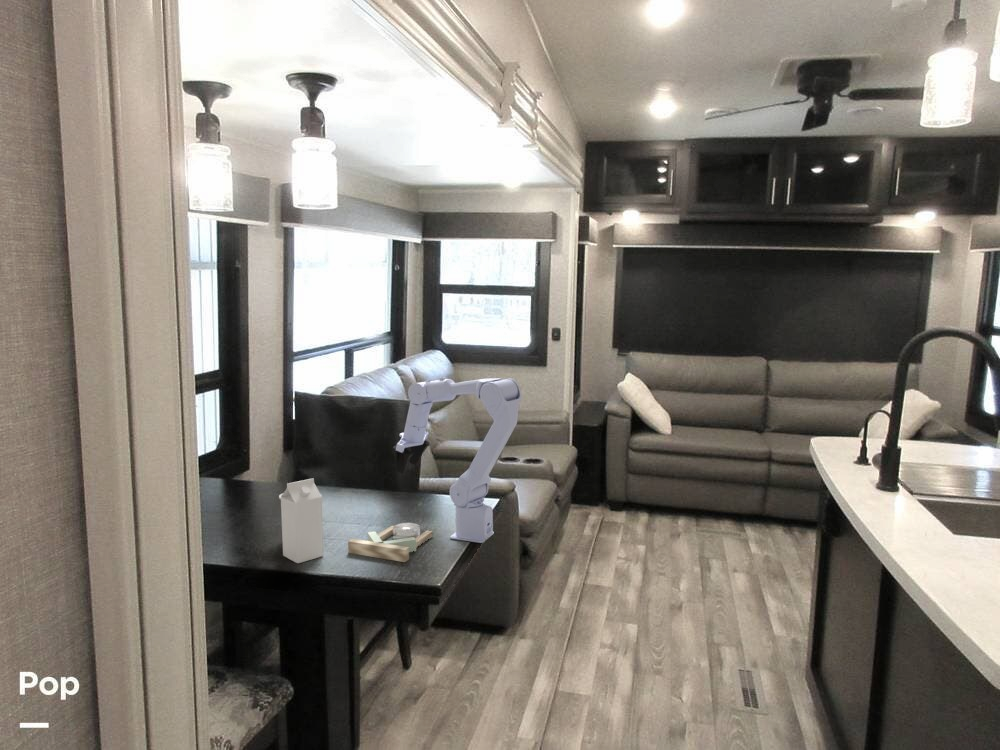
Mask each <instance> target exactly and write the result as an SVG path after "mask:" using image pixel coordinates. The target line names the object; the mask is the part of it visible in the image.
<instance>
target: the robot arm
mask: <svg viewBox="0 0 1000 750" xmlns="http://www.w3.org/2000/svg"><path fill="white" fill-rule="evenodd" d="M471 394H472V395H475V396H476V398H477V399H478V400H481V403H482V404H483V406H484V408H485V409H486V411H487V413H488V414H489V416H490V417H491V419H493V422H492V424H491V426H490V428H489V430H488V432H487V433H486V435H485V437H484V439H483V441H482V443H481V445H480V447H479V449H478V450H477V453H476V454H475V456H474V458H473V460H472V462H471V463H470V465H469V467H468V469H467V470H466V471H464V473H462V474H461V475H460V476H459V478H458V479H457V480H456V482H454V483H452V484H451V485H450V487H449V497H450V499H451V501H452V503H453V505H454V506H455V532H454V533H453V534H451V535H450V536H449V539H452V540H457V541H464V542H472V543H478V544H483V543H485V542H486V541H487V540H488V539H489V538H491V536H493V535H494V534H495V532H494V527H493V526H494V519H493V518H494V513H493V507H492V506H491V505H487V504H485V503H484V502H485V497H486V496H487V494H488V493H489V485H490V482H491V480H492V479H491V477H490V474H491V473H492V470H493V468H494V466H495V464H496V462H497V461H498V458H499V457H500V455H501V453H502V452H503V449H504V448H505V447H506V445H507V442H508V441H509V439H510V437H511V435H512V434H513V432H514V429H515V428H516V426H517V424H518V418H519V406H520V405H519V404H520V402H521V399H522V398H523V394H522V392H521V389H520V386H519V384H518V382H517V381H516V380H515V379H513V378H511V377H509V378H504V379H502V378H500V377H499V378H498V377H496V378H495V377H489V378H480V379H474V380H466V381H461V382H455V381H454V380H453V379H451V378H447V376H443V377H442V376H441V377H439V379H437V380H436V379H435V380H432V379H426V380H425V381H421V382H414V383H412V384H411V385H410V386H409V387H408V390H407V396H408V399H409V407H408V411H407V416H406V421H405V426H404V430H403V432H401V433H399V435H398V436H399V437H400V440H399V441H398V442H397V443H396V445H393V447H392V452H393V455H394V458H395V471H396V472H398V473H400V474H404V473H405V471H406V469H407V466H408V463H410V464H411V465H413V466H418V464H419V462H420V460H421V457H422V456H423V455H424V452H425V451H426V449H428V447H429V446H430V443H431V442H430V441H428V438H429V432H428V431H426V430H427V426H428V422H429V417H430V412H431V408H432V407H433V404H434V403H439V402H449V401H453V400H454V399H455V398H456V397H457V396H459V395H471ZM409 448H410V451H409Z"/></svg>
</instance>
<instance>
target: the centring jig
mask: <svg viewBox="0 0 1000 750" xmlns="http://www.w3.org/2000/svg"><path fill="white" fill-rule="evenodd" d="M394 526H395V525H391V526H388V527H387V528H386V529H384V530H382V531H380V532H379V533H377V532H376V531H368V532H366V533H367V534H366V535H367V540H363V539H358V538H357V539H356V538H351V539H349V540H348V541H347V547H348V548H347V551H348V553H349V554H352V555H359V556H365V557H370V558H377V559H383V560H389V561H396V562H401V563H402V562H403V563H406V562H408V561H409V560H410V553H413V551H414V552H417V549H418V548H419V547H420V546H422V545H423V544H424V543H426V542H427V541H428V539H429V540H430V539H431V538H433V530H426V531H424V532H422V533H420V536H418V537H417V538H414V537H411V538H404V539H397V540H394V539H391V540H387V539H388V538H389V537H391V536H393V527H394ZM425 541H426V542H425ZM422 543H423V544H422ZM421 544H422V545H421ZM418 546H419V547H418Z"/></svg>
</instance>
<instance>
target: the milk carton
mask: <svg viewBox="0 0 1000 750" xmlns="http://www.w3.org/2000/svg"><path fill="white" fill-rule="evenodd" d="M282 494H283V495H282V496H281V500H280V510H281V511H280V512H281V513H280V514H281V516H280V517H281V532H282V533H281V534H282V538H281V539H282V556H283V557H285V558H287V559H289V560H290V561H293V562H294V563H295V564H301V563H304V562H307V561H311V560H313V559H317V558H321V557H324V534H323V533H324V532H323V531H324V528H323V503H322V502H323V501H322V499H323V498H322V497H321V495H322V494H321V492H320V491H319V489H318V487H317V486H316V484H315V479H314V477H313V478H308V479H304V480H303V479H302V480H299V481H293V482H289V483H288V482H287V483H286V489H285V490H284V492H283V493H282ZM320 494H321V495H320Z"/></svg>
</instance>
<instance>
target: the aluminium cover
mask: <svg viewBox="0 0 1000 750" xmlns="http://www.w3.org/2000/svg"><path fill="white" fill-rule="evenodd" d="M393 526H394V527H393V535H392V538H393V539H392V540H397V539H404V538H411V537H414V538H417V537H418V536H420V535H421V526H420V525H419V524H417V523H414V522H402V523H401V522H400V523H397V524H395V525H393Z"/></svg>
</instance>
